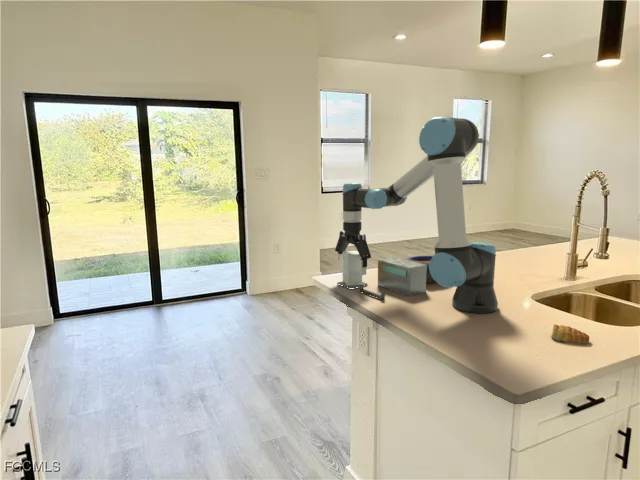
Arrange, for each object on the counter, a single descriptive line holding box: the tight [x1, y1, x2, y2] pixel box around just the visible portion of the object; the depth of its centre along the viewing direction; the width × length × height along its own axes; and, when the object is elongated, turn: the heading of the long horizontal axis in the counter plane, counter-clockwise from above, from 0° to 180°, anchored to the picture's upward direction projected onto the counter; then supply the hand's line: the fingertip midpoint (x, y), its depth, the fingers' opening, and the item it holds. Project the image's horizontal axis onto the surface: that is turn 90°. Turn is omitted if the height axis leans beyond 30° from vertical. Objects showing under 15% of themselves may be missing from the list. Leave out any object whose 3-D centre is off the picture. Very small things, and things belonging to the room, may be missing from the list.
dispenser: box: [359, 256, 427, 301], centre depth 167 cm, size 18×21×11 cm
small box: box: [342, 250, 363, 286], centre depth 176 cm, size 8×6×13 cm
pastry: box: [550, 324, 590, 345], centre depth 121 cm, size 9×7×4 cm
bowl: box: [405, 255, 436, 283], centre depth 184 cm, size 18×18×10 cm
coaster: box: [336, 280, 368, 289], centre depth 177 cm, size 9×9×1 cm
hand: (352, 271), depth 176 cm, fingers open, 13 cm apart
